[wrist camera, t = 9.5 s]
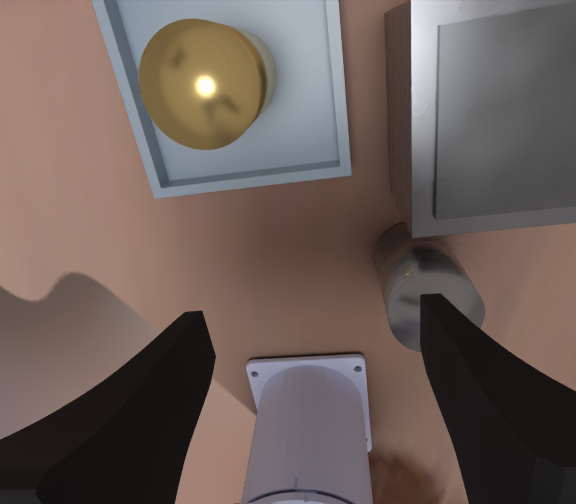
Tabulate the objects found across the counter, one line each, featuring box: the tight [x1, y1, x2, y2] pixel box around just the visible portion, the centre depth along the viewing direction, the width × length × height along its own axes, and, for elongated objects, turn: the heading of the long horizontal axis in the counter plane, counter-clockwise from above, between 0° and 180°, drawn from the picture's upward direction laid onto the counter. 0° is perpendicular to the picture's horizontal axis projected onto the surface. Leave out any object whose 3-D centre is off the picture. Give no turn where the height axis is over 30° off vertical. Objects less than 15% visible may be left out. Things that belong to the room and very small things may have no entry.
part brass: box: [139, 18, 277, 150], centre depth 16 cm, size 4×4×6 cm
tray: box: [92, 0, 352, 199], centre depth 18 cm, size 10×10×2 cm
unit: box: [385, 0, 576, 238], centre depth 16 cm, size 9×10×6 cm
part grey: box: [374, 222, 485, 352], centre depth 20 cm, size 4×4×6 cm
